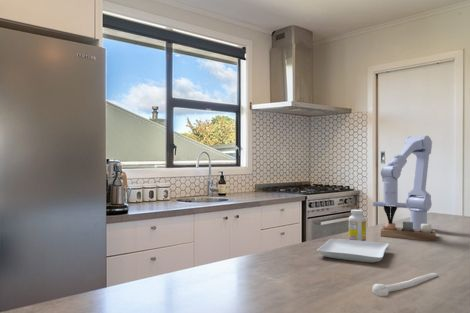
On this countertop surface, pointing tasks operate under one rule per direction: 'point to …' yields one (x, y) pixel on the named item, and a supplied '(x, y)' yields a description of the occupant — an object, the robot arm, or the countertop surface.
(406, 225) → the grey rounded piece
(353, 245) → the salad plate
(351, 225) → the supplement bottle
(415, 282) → the white long rod
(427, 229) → the white rounded cylinder
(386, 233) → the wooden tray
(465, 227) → the countertop surface
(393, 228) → the peach rounded cylinder
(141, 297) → the countertop surface
